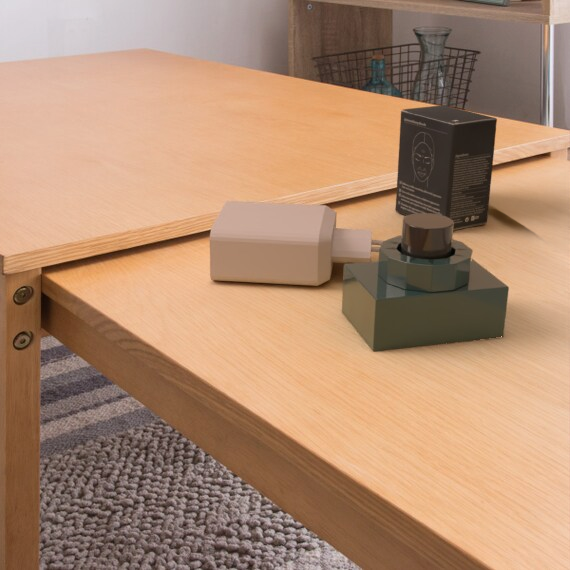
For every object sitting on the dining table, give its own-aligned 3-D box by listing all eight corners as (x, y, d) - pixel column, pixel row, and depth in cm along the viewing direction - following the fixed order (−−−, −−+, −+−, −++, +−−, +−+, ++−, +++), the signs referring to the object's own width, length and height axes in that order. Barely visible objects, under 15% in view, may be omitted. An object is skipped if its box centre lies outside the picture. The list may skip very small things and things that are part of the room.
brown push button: (438, 244, 69) (441, 211, 68) (459, 260, 65) (462, 226, 64) (393, 247, 68) (395, 214, 67) (411, 265, 65) (414, 230, 64)
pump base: (461, 300, 73) (468, 228, 71) (503, 338, 67) (512, 260, 65) (341, 312, 71) (344, 238, 68) (373, 352, 64) (377, 272, 62)
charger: (395, 295, 74) (209, 285, 75) (395, 255, 82) (228, 247, 84) (398, 239, 72) (208, 229, 74) (398, 204, 81) (228, 196, 82)
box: (488, 224, 91) (499, 117, 87) (444, 233, 88) (453, 123, 84) (435, 203, 97) (443, 102, 93) (393, 211, 94) (399, 108, 90)
